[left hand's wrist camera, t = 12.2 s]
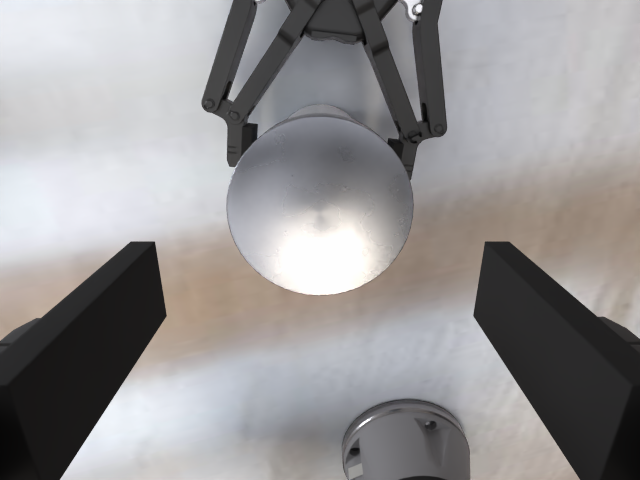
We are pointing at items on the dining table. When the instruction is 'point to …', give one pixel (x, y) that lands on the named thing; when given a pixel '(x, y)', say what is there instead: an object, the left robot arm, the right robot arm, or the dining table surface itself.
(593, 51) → the dining table surface
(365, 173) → the lid
